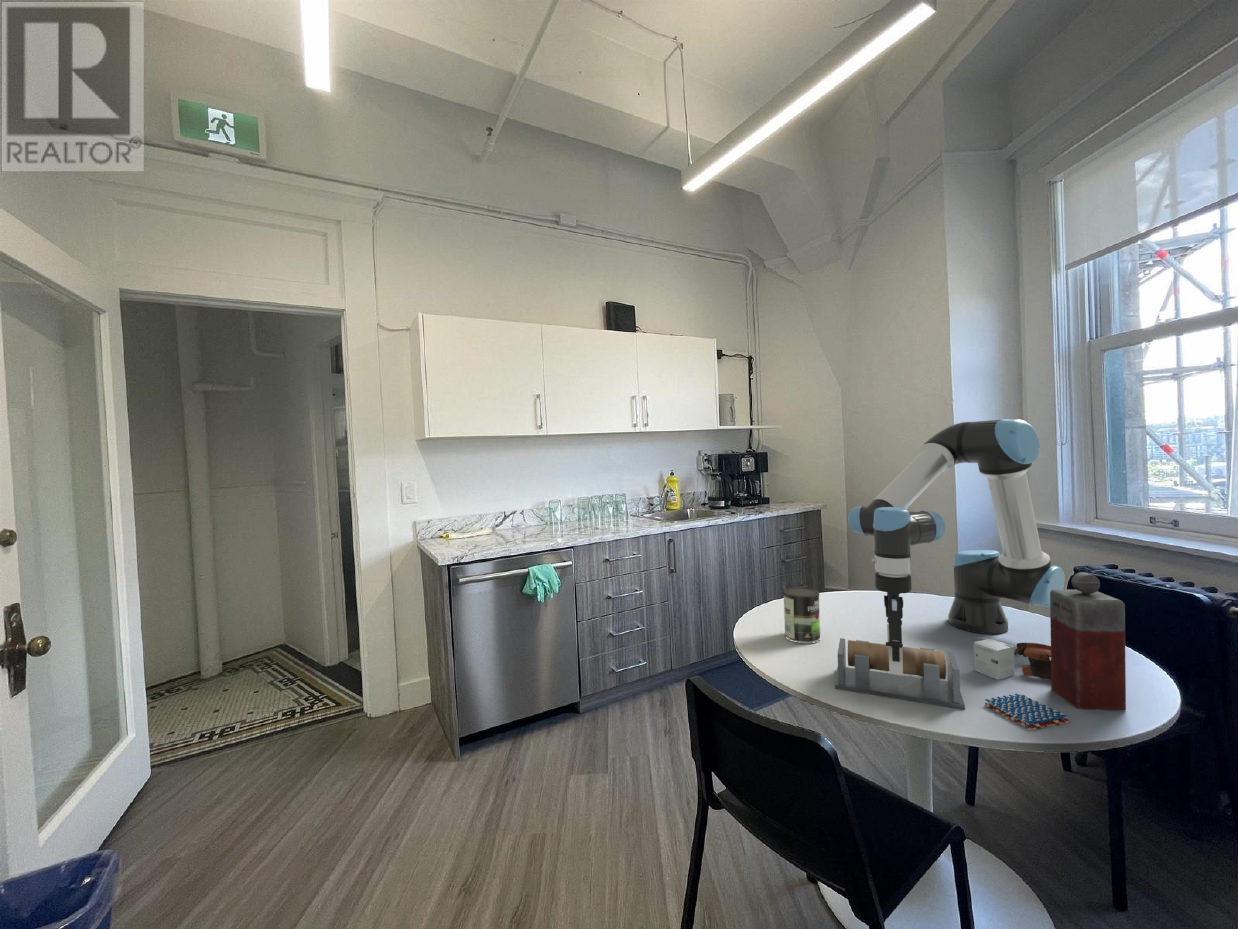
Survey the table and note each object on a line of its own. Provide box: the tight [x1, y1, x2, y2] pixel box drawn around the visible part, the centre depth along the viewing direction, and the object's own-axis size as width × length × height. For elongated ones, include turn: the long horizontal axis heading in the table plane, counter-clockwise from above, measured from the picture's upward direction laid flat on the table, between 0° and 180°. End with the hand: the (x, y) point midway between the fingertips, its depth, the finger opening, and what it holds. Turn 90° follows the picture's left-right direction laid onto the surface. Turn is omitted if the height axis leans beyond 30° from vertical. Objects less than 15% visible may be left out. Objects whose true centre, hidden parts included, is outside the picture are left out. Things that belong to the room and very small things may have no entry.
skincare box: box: [973, 638, 1015, 681], centre depth 126 cm, size 6×6×7 cm
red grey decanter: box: [1049, 572, 1127, 711], centre depth 113 cm, size 9×11×28 cm
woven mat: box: [984, 693, 1070, 731], centre depth 107 cm, size 10×11×2 cm
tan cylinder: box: [847, 639, 947, 680], centre depth 121 cm, size 20×6×6 cm, turn 63°
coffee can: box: [782, 586, 821, 644], centre depth 154 cm, size 10×10×14 cm
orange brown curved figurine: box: [1014, 642, 1051, 681], centre depth 125 cm, size 12×10×8 cm
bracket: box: [834, 637, 966, 710], centre depth 121 cm, size 26×11×8 cm, turn 63°
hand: (895, 662), depth 121 cm, fingers open, 13 cm apart
